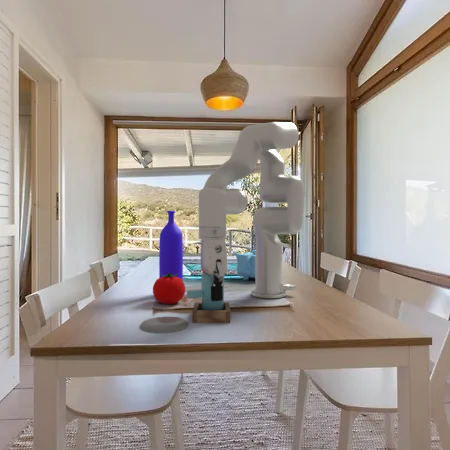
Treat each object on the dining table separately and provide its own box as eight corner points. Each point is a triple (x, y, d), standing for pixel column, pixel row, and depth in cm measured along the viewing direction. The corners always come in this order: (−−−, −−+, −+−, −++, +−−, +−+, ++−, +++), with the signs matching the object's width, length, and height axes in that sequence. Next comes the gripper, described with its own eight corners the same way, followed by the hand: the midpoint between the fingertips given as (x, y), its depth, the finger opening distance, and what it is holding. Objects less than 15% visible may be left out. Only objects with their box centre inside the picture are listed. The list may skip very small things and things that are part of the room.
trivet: (189, 320, 101) (189, 316, 100) (186, 334, 89) (186, 330, 88) (145, 320, 100) (145, 316, 100) (136, 334, 88) (136, 330, 88)
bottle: (178, 298, 126) (178, 211, 125) (155, 296, 128) (155, 210, 127) (185, 292, 135) (185, 211, 133) (164, 291, 136) (164, 211, 135)
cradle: (229, 314, 107) (229, 302, 107) (230, 324, 97) (230, 311, 97) (194, 314, 107) (194, 302, 106) (192, 324, 97) (192, 311, 96)
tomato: (149, 301, 121) (149, 271, 121) (180, 298, 125) (180, 269, 125) (156, 309, 112) (156, 276, 111) (189, 306, 115) (189, 274, 115)
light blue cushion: (275, 277, 167) (275, 249, 166) (259, 283, 154) (259, 252, 153) (240, 274, 176) (240, 247, 176) (223, 279, 163) (223, 250, 163)
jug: (219, 309, 106) (219, 271, 105) (227, 315, 100) (227, 275, 100) (185, 313, 102) (184, 274, 102) (190, 319, 97) (190, 278, 96)
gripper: (237, 235, 94) (237, 304, 95) (215, 231, 110) (215, 290, 111) (209, 235, 92) (209, 306, 92) (190, 231, 108) (191, 292, 109)
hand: (212, 297), depth 102 cm, fingers closed on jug, 6 cm apart
